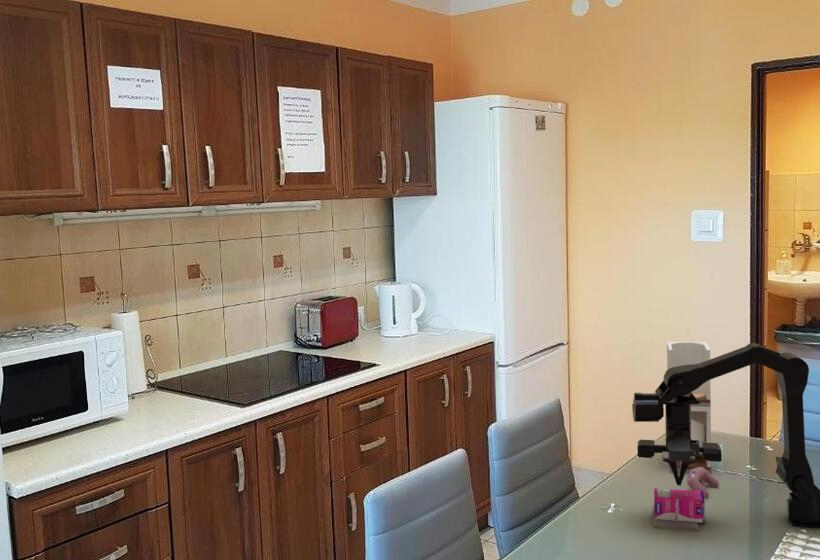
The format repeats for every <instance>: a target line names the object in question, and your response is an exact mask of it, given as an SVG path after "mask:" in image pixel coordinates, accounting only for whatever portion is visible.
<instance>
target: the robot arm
mask: <svg viewBox="0 0 820 560" xmlns="http://www.w3.org/2000/svg"><path fill="white" fill-rule="evenodd" d="M754 364H759V365H761V366H764V367H766V368H768V369H770V370H773V371H774V374H775V378H776V380H777V384H778V387H779V389H780V392H781V402H782V403H781V404H782V427H783V447H784V449H783V452H782V456H775V462H776V470H775V473H776V474H777V476H778V477H779V479H780V480H781V481H782V483H783V484H784V485H785V486H786V487H787V488H788V489H789V490H790V492H789V493H788V498H787V499H786V516H787V519H788V520H789V521H790V524H791V526H795V527H808V528H809V527H810V528H820V488H819V486H817V485H816V483H815V480H814V476H813V471H812V468H811V466H810V463H809V460H808V457H807V454H806V438H805V437H806V435H805V417H804V416H805V413H804V392H805V390H806V387H807V385H808V382H809V381H808V379H809V374H810V368H809V365H808V363H807V362H806V361H805V360H803V359H802V358H801V357H799V356H797V355H796V354H794V353H792V352H782V353H780V352H777V351H775V350H772V349H769V348H767V347H764V346H761V345H760V344H758V343H757V342H756V343H755V342H751V343H748V344H747V345H745V346H743V347H740V348H738V349H735V350H732V351H730V352H726V353H724V354H721V355H719V356H716V357H713V358H710V360H707V361H705V362H702V363H699V364H691V365H682V366H677V367H672V368H670V369H668V370H667V369H666V371H664V372H665V373H664V374H663V380H662V381H661V383H660V384H659V385H658V386H657V388H656V389H655V391H654V392H653V393H642V392H634V393H633V398H632V399H633V400H632V402H633V403H631V405H632V406H631V407H632V408H631V409H632V410H631V411H632V418H633V419H632V420H633V422H635V423H641V422H644V423H646V422H648V423H655V422H656V423H659V422H660V420H662V418H665V444H655V440H654V439H639V440H638V441H637V457H638V458H642V459H643V458H645V459H652V458H653V457H654V456H655V454H661V455H662V462H663V463H667V464H668V465H669V468H670V467H671V469H672V472H673V473H672V475H673V477H674V479H675V480H674V481H675V483H676V485H677V486H679V487H680V486H682V483H683V480H684V477H685V474H686V473H685V472H686V470H687V468H688V466H689V465H690V464H691V463H695V456H699V455H704V458H705V459H706V460H707V461H711V462H722V461H723V460H722V456H723V455H722V454H723V453H722V449H721V445H720V444H719V442H711V443H705V442H702V447H699V440H691V404H700V401H699V400H698V399H697V398H696V397H695V396H694V395H693V393H692V391H694V390H696V389H698V388H699V387H700V386H701V385H702V384H704V383H705V382H707V381H709V380H710V381H711V380H713V379H717V378H719V377H721V376H725V375H727V374H729V373H733V372H735V371H739V370H741V369H743V368H747V367H748V366H752V365H754ZM664 405H665V409H664ZM664 415H665V417H664ZM676 461H680V470H679V473H678V470H677V463H676Z"/></svg>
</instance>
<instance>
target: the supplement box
mask: <svg viewBox="0 0 820 560" xmlns="http://www.w3.org/2000/svg"><path fill="white" fill-rule="evenodd" d="M705 499H706V498H704V492H703V491H694V490H692V489H691V490H689V489H688V490H686V489H671V488H653V505H654V514H655V519H660V520H674V521H688V522H698V523H701V524H702V523H703V524H705V523H706V518H705V517H706V511H705V510H706V509H705V508H706V507H705V502H706V501H705Z"/></svg>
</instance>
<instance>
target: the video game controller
mask: <svg viewBox="0 0 820 560" xmlns="http://www.w3.org/2000/svg"><path fill="white" fill-rule="evenodd" d="M686 483H687V485H688V487H689V488H690V489H691V490H692V491H703V492H704V499H707V498H709V495H710V494H709V492H708V490H707V489H706V488H707V485H709V487H712V488H715V489H717V488H719V486H720V483H719V480H717V478H715V477H714V476H713V475H712V473H711V474H710V473H709V472H708V471H707V470H706V469H704V468H703V467H702V468H700V467H698V468H694V469H692V470H691V471H690V473H688V475H687V476H686Z"/></svg>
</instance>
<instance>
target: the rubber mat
mask: <svg viewBox="0 0 820 560" xmlns="http://www.w3.org/2000/svg"><path fill="white" fill-rule="evenodd" d="M652 528H653V529H654V528H655V529H668V530H682V531H692V532H693V531H694V532H699V522H688V521H674V520H660V519H655V514H654V504H653V505H652Z"/></svg>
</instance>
